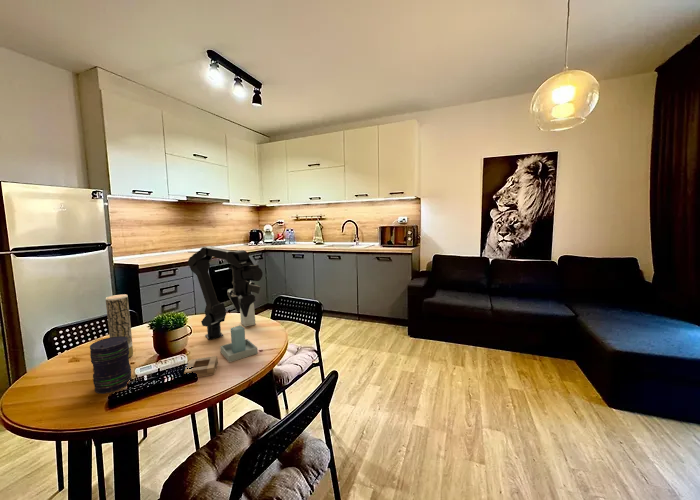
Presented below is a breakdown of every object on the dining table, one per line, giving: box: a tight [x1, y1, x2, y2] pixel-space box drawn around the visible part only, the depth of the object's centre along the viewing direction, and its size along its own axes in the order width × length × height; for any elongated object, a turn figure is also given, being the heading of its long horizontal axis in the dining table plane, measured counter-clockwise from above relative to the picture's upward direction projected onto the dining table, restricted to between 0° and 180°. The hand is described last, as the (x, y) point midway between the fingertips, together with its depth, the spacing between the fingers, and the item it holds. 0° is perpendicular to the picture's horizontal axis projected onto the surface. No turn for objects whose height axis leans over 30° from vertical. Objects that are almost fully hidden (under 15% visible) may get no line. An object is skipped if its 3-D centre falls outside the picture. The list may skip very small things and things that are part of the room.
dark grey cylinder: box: [89, 336, 133, 395], centre depth 96 cm, size 10×10×15 cm
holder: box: [183, 355, 219, 378], centre depth 106 cm, size 9×9×2 cm
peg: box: [230, 325, 246, 353], centre depth 118 cm, size 4×4×10 cm
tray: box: [219, 338, 258, 363], centre depth 119 cm, size 11×11×3 cm
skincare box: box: [239, 302, 256, 328], centre depth 152 cm, size 8×6×15 cm
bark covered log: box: [105, 293, 134, 358], centre depth 115 cm, size 7×7×25 cm
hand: (241, 314), depth 128 cm, fingers open, 9 cm apart
